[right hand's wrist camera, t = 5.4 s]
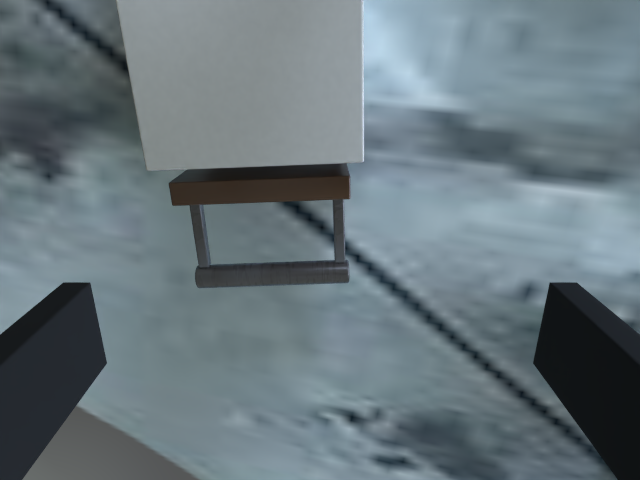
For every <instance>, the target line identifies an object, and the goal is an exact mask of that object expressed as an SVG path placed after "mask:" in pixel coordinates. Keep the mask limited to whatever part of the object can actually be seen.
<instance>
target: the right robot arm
mask: <svg viewBox="0 0 640 480" xmlns="http://www.w3.org/2000/svg"><path fill="white" fill-rule="evenodd" d="M106 364H107V361H106V357H105V352H104V347H103V342H102V337H101V332H100V328H99V323H98V318H97V313H96V308H95V303H94V299H93V294H92V289H91V284H90V283H62V284H61V285H60V286H59V287H57V288H56V289H55V290H54V291H53V292H51V293H50V294H49V295H48V296H47V297H45V298H44V299H43V300H42V301H41V302H39V303H38V304H37V305H36V306H34V307H33V308H32V309H31V310H30V311H28V312H27V313H26V314H25V315H24V316H22V317H21V318H20V319H19V320H18V321H16V322H15V323H14V324H13V325H12V326H10V327H9V328H8V329H7V330H5V331H4V332H3V333H2V334H1V335H0V480H22V479H23V478H24V476H25V475H26V473H27V472H28V471H29V469H30V468H31V467H32V465H33V464H34V462H35V461H36V460H37V458H38V457H39V456H40V454H41V453H42V451H43V450H44V449H45V447H46V446H47V445H48V443H49V442H50V441H51V439H52V438H53V436H54V435H55V434H56V432H57V431H58V430H59V428H60V427H61V425H62V424H63V423H64V421H65V420H66V419H67V417H68V416H69V414H70V413H71V412H72V410H73V409H74V408H75V406H76V405H77V403H78V402H79V401H80V399H81V398H82V397H83V395H84V394H85V392H86V391H87V390H88V388H89V387H90V386H91V384H92V383H93V381H94V380H95V379H96V377H97V376H98V375H99V373H100V372H101V370H102V369H103V368H104V366H105V365H106ZM533 364H534V365H535V366H536V368H537V369H538V370H539V372H540V373H541V375H542V376H543V377H544V379H545V380H546V381H547V383H548V384H549V386H550V387H551V388H552V390H553V391H554V392H555V394H556V395H557V397H558V398H559V399H560V401H561V402H562V403H563V405H564V406H565V408H566V409H567V410H568V412H569V413H570V414H571V416H572V417H573V419H574V420H575V421H576V423H577V424H578V425H579V427H580V428H581V430H582V431H583V432H584V434H585V435H586V436H587V438H588V439H589V441H590V442H591V443H592V445H593V446H594V447H595V449H596V450H597V452H598V453H599V454H600V456H601V457H602V458H603V460H604V461H605V462H606V464H607V465H608V467H609V468H610V469H611V471H612V472H613V473H614V475H615V476H616V478H617V479H618V480H640V335H639V334H638V333H637V332H636V331H635V330H633V329H632V328H631V327H630V326H628V325H627V324H626V323H625V322H624V321H622V320H621V319H620V318H619V317H618V316H616V315H615V314H614V313H613V312H612V311H610V310H609V309H608V308H607V307H606V306H604V305H603V304H602V303H601V302H599V301H598V300H597V299H596V298H595V297H593V296H592V295H591V294H590V293H589V292H587V291H586V290H585V289H584V288H583V287H581V286H580V285H579V284H578V283H550V284H549V289H548V294H547V299H546V303H545V308H544V313H543V318H542V323H541V328H540V332H539V337H538V342H537V347H536V352H535V357H534V361H533Z"/></svg>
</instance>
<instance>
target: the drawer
mask: <svg viewBox="0 0 640 480" xmlns="http://www.w3.org/2000/svg"><path fill="white" fill-rule="evenodd" d="M169 188H170V194H171V200H172V205H173V206H179V205H190V211H191V218H192V224H193V231H194V238H195V244H196V251H197V258H198V264H199V265H198V266H197V268H196V272H195V280H196V285H197V287H198V288H217V287H246V286H274V285H303V284H332V283H349V262H348V260H345V226H344V199H350V198H351V196H350V174H349V171H348V167H347V163H338V164H312V165H287V166H261V167H236V168H210V169H187V170H186V171H185V172H183V173H182V174H181V175H179V176H178V177H176V178H175V179H174V180H172V181H171V182H170V183H169ZM311 200H333V221H334V253H335V260H327V261H299V262H271V263H243V264H215V265H210V264H211V260H210V252H209V245H208V238H207V231H206V224H205V217H204V209H203V205H206V204H232V203H259V202H285V201H311Z"/></svg>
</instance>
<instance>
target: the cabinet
mask: <svg viewBox="0 0 640 480" xmlns="http://www.w3.org/2000/svg"><path fill="white" fill-rule="evenodd" d="M116 5H117V10H118V16H119V21H120V27H121V32H122V38H123V43H124V49H125V54H126V60H127V65H128V71H129V76H130V82H131V87H132V93H133V98H134V104H135V110H136V115H137V121H138V126H139V132H140V137H141V143H142V148H143V154H144V159H145V165H146V170H147V171H159V170H185V169H210V168H236V167H261V166H287V165H312V164H338V163H362V162H364V49H363V0H116Z"/></svg>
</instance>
